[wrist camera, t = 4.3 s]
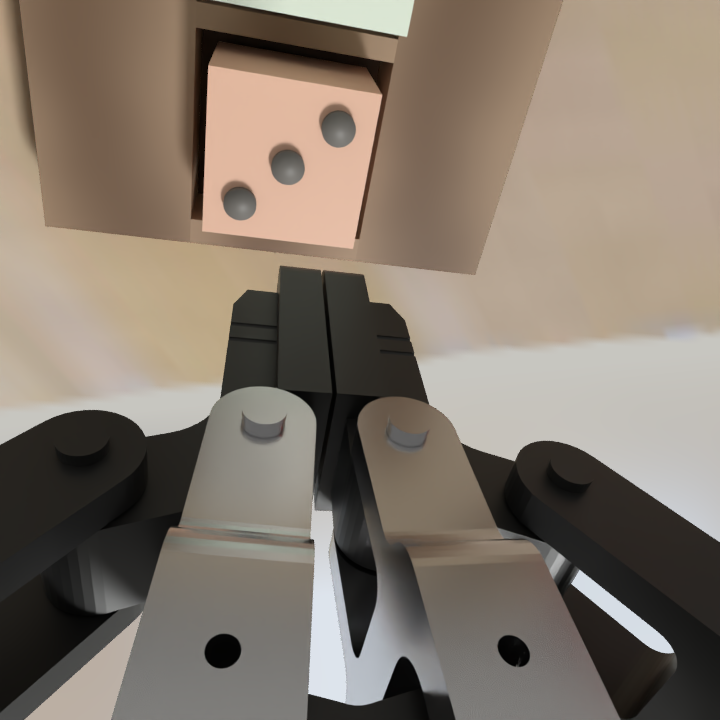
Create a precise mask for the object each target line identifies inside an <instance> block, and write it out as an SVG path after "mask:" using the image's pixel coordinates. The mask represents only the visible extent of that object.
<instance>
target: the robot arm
mask: <svg viewBox="0 0 720 720" xmlns="http://www.w3.org/2000/svg"><path fill="white" fill-rule="evenodd" d="M313 495H314V502H315V510H320V511H332V513H333V526H334V528H333V533H332V538H331V542H330V547H329V561H330V568H331V574H332V581H333V588H334V594H335V601H336V607H337V613H338V621H339V627H340V633H341V640H342V646H343V653H344V660H345V667H346V681H347V690H346V704H345V703H341V702H337V701H333V700H330V699H326V698H322V697H318V696H314V695H311V694H308V685H309V663H310V642H311V621H312V598H313V579H314V578H313V577H314V553H315V552H314V550H315V548H314V540H313V539H310V531H311V514H312V500H313ZM579 570H581V571H582V572H583V573H585V574H586V575H587V576H589V577H590V578H591V579H592V580H594V581H595V582H596V583H597V584H599V585H600V586H601V587H602V588H604V589H605V590H606V591H607V592H609V593H610V594H611V595H612V596H614V597H615V598H616V599H617V600H619V601H620V602H621V603H622V604H624V605H625V606H626V607H627V608H629V609H630V610H631V611H633V612H634V613H635V614H636V615H637V616H639V617H640V618H641V619H642V620H644V621H645V622H646V623H648V624H649V625H650V626H651V627H653V628H654V629H655V630H656V631H658V632H659V633H660V634H661V635H662V636H663V637H664V638H665V639H666V640H667V641H668V643H669V644H670V645H671V647H672V648H673V650H674V652H675V653H671V654H666V653H661V652H658V651H655V650H653V649H651V648H649V647H648V646H647V645H645V644H644V643H642V642H641V641H640V640H639V639H638V638H636V637H635V636H634V635H633V634H632V633H630V632H629V631H628V630H627V629H625V628H624V627H623V626H622V625H620V624H619V623H618V622H617V621H616V620H614V619H613V618H612V617H611V616H609V615H608V614H607V613H606V612H605V611H603V610H602V609H601V608H600V607H599V606H597V605H596V604H595V603H594V602H592V601H591V600H590V599H589V598H588V597H586V596H585V595H584V594H583V593H581V592H580V591H579V590H578V589H577V588H575V587H574V586H573V585H572V584H571V583H572V581H573V580H574V578H575V576H576V575H577V573H578V571H579ZM142 611H143V613H142V616H141V620H140V623H139V627H138V630H137V633H136V637H135V640H134V643H133V647H132V650H131V654H130V657H129V661H128V664H127V667H126V671H125V674H124V678H123V681H122V684H121V688H120V691H119V695H118V698H117V701H116V705H115V708H114V712H113V715H112V719H111V720H720V542H718V541H717V540H715V539H713V538H712V537H711V536H709V535H708V534H706V533H705V532H704V531H702V530H700V529H699V528H697V527H696V526H695V525H693V524H692V523H690V522H689V521H687V520H686V519H684V518H683V517H681V516H680V515H678V514H677V513H675V512H674V511H672V510H671V509H669V508H668V507H667V506H665V505H664V504H662V503H661V502H659V501H658V500H656V499H655V498H653V497H652V496H650V495H649V494H647V493H646V492H644V491H643V490H641V489H640V488H638V487H637V486H635V485H634V484H633V483H631V482H629V481H628V480H627V479H625V478H624V477H622V476H621V475H619V474H618V473H616V472H615V471H613V470H612V469H610V468H609V467H607V466H606V465H604V464H603V463H601V462H600V461H598V460H597V459H596V458H594V457H592V456H591V455H589V454H588V453H586V452H584V451H582V450H580V449H578V448H576V447H573V446H571V445H568V444H563V443H560V442H554V441H539V442H534V443H530V444H529V445H527V446H525V447H524V448H523V449H522V450H520V452H519V454H518V456H517V458H516V460H515V461H512V460H508V459H505V458H501V457H498V456H495V455H491V454H488V453H485V452H482V451H479V450H476V449H473V448H470V447H468V446H466V445H464V444H462V443H461V442H460V440H459V437H458V435H457V433H456V430H455V428H454V427H453V425H452V423H451V422H450V421H449V419H448V418H447V417H446V416H445V415H444V414H442V413H441V412H440V411H438V410H437V409H436V408H434V407H432V406H430V405H429V402H428V399H427V395H426V392H425V388H424V385H423V381H422V378H421V375H420V371H419V368H418V364H417V361H416V357H415V356H414V350H413V347H412V343H411V342H410V336H409V333H408V330H407V326H406V323H405V320H404V319H403V318H402V317H401V316H400V315H399V314H398V313H397V312H396V311H395V310H394V309H393V307H392V306H391V305H390V304H383V303H373V302H370V301H369V297H368V292H367V287H366V283H365V278H364V275H362V274H353V273H344V272H335V271H326V270H323V272H322V275H321V270H315V269H306V268H297V267H288V266H280V269H279V276H278V285H277V293H274V292H264V291H254V290H247V291H246V292H245V293H244V294H243V295H242V296H241V297H240V298H239V299H238V300H237V301H236V302H235V303H234V304H233V312H232V319H231V326H230V333H229V340H228V348H227V355H226V362H225V369H224V376H223V383H222V391H221V397H220V399H219V400H218V401H217V402H216V403H215V405H214V406H213V408H212V410H211V413H210V415H209V416H208V417H207V418H206V419H204V420H202V421H201V422H199V423H198V424H195V425H193V426H191V427H189V428H186V429H183V430H180V431H176V432H171V433H166V434H160V435H154V436H148V437H145V435H144V433H143V431H142V430H141V429H140V428H139V426H138V425H137V424H136V423H134V422H133V421H132V420H130V419H128V418H127V417H125V416H122V415H119V414H117V413H113V412H108V411H101V410H83V411H74V412H70V413H65V414H62V415H59V416H56V417H53V418H51V419H49V420H47V421H45V422H43V423H41V424H39V425H37V426H35V427H33V428H31V429H29V430H28V431H26V432H24V433H22V434H20V435H18V436H16V437H14V438H12V439H11V440H9V441H7V442H5V443H3V444H1V445H0V720H24V719H25V718H26V717H28V716H29V715H30V714H31V713H32V712H33V711H34V710H35V709H36V708H38V707H39V706H40V705H41V704H42V703H43V702H44V701H45V700H46V699H48V698H49V697H50V696H51V695H52V694H53V693H54V692H55V691H56V690H57V689H59V688H60V687H61V686H62V685H63V684H64V683H65V682H66V681H68V680H69V679H70V678H71V677H72V676H73V675H74V674H75V673H76V672H78V671H79V670H80V669H81V668H82V667H83V666H84V665H85V664H86V663H88V661H90V660H91V659H92V658H93V657H94V656H95V655H96V654H97V653H99V652H100V651H101V650H102V649H103V648H104V647H105V646H106V645H107V644H108V643H110V642H111V641H112V640H113V639H114V638H115V637H116V636H117V635H119V634H120V633H121V632H122V631H123V630H124V629H125V628H126V627H127V626H129V625H130V624H131V623H132V622H133V621H134V620H135V619H136V618H137V617H138V616H139V615H140V614H141V612H142Z"/></svg>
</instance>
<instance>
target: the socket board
mask: <svg viewBox="0 0 720 720" xmlns="http://www.w3.org/2000/svg"><path fill="white" fill-rule="evenodd" d="M562 2H563V0H414V5H413V10H412V15H411V20H410V25H409V30H408V35H407V37H404V36H399V35H394V34H388V33H383V32H378V31H373V30H367V29H362V28H357V27H352V26H346V25H341V24H336V23H331V22H325V21H320V20H315V19H310V18H304V17H299V16H294V15H289V14H283V13H278V12H273V11H267V10H262V9H257V8H252V7H246V6H241V5H236V4H231V3H225V2H220V1H215V0H19V5H20V13H21V22H22V30H23V39H24V47H25V56H26V64H27V73H28V81H29V90H30V98H31V107H32V115H33V124H34V132H35V141H36V150H37V158H38V167H39V175H40V184H41V192H42V201H43V209H44V218H45V226H49V227H58V228H67V229H75V230H84V231H93V232H102V233H111V234H119V235H128V236H137V237H146V238H155V239H163V240H172V241H181V242H190V243H198V244H207V245H216V246H225V247H234V248H242V249H251V250H260V251H269V252H278V253H286V254H295V255H304V256H313V257H321V258H330V259H339V260H348V261H357V262H365V263H374V264H383V265H392V266H401V267H409V268H418V269H427V270H436V271H444V272H453V273H462V274H471V275H475V273H476V270H477V267H478V264H479V261H480V258H481V255H482V252H483V249H484V245H485V242H486V239H487V236H488V233H489V230H490V227H491V224H492V220H493V217H494V214H495V211H496V208H497V205H498V202H499V199H500V196H501V192H502V189H503V186H504V183H505V180H506V177H507V174H508V171H509V168H510V164H511V161H512V158H513V155H514V152H515V149H516V146H517V143H518V140H519V136H520V133H521V130H522V127H523V124H524V121H525V118H526V115H527V111H528V108H529V105H530V102H531V99H532V96H533V93H534V90H535V87H536V83H537V80H538V77H539V74H540V71H541V68H542V65H543V62H544V59H545V55H546V52H547V49H548V46H549V43H550V40H551V37H552V34H553V31H554V27H555V24H556V21H557V18H558V15H559V12H560V9H561V6H562ZM203 29H207V30H213V31H218V32H224V33H229V34H235V35H241V36H246V37H252V38H257V39H263V40H268V41H274V42H279V43H285V44H290V45H296V46H301V47H307V48H312V49H318V50H324V51H329V52H335V53H340V54H346V55H351V56H357V57H362V58H368V59H373V60H379V61H380V66H379V71H378V77H377V82H376V85H377V87H378V88H379V90H380V92H381V93H382V99H381V105H380V110H379V115H378V120H377V126H376V131H375V136H374V141H373V147H372V152H371V157H370V162H369V168H368V173H367V178H366V184H365V189H364V194H363V199H362V205H361V210H360V215H359V220H358V226H357V231H356V236H355V242H354V247H353V249H349V248H340V247H332V246H323V245H315V244H306V243H298V242H289V241H281V240H272V239H264V238H255V237H247V236H238V235H230V234H222V233H213V232H205V231H202V222H203V195H204V194H199V193H198V168H199V136H200V104H201V73H202V41H203Z"/></svg>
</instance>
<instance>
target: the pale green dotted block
mask: <svg viewBox="0 0 720 720" xmlns="http://www.w3.org/2000/svg"><path fill="white" fill-rule="evenodd" d="M215 1H220V2H225V3H231V4H236V5H241V6H246V7H252V8H257V9H262V10H267V11H273V12H278V13H283V14H289V15H294V16H299V17H304V18H310V19H315V20H320V21H325V22H331V23H336V24H341V25H346V26H352V27H357V28H362V29H367V30H373V31H378V32H383V33H388V34H394V35H399V36H404V37H407V35H408V30H409V25H410V20H411V15H412V10H413V5H414V0H215Z"/></svg>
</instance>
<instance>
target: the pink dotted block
mask: <svg viewBox="0 0 720 720" xmlns="http://www.w3.org/2000/svg"><path fill="white" fill-rule="evenodd" d="M381 99H382V93H381V92H380V90H379V88H378V87H377V85H376V83H375V82H374V80H373V78H372V77H371V75H370V73H369V72H368V70H367V68H366V67H361V66H355V65H349V64H344V63H338V62H332V61H327V60H321V59H316V58H310V57H304V56H299V55H293V54H287V53H282V52H276V51H271V50H265V49H259V48H254V47H248V46H242V45H237V44H231V43H226V42H220V41H218V44H217V46H216V48H215V51H214V53H213V55H212V58H211V60H210V63H209V65H208V87H207V114H206V141H205V168H204V195H203V222H202V231H205V232H213V233H222V234H230V235H238V236H247V237H255V238H264V239H272V240H281V241H289V242H298V243H306V244H315V245H323V246H332V247H340V248H349V249H353V247H354V242H355V236H356V231H357V226H358V220H359V215H360V210H361V205H362V199H363V194H364V189H365V184H366V178H367V173H368V168H369V162H370V157H371V152H372V147H373V141H374V136H375V131H376V126H377V120H378V115H379V110H380V105H381Z"/></svg>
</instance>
